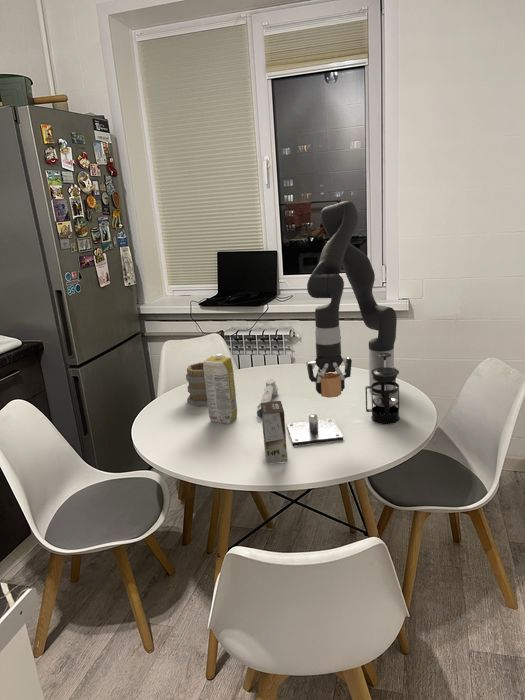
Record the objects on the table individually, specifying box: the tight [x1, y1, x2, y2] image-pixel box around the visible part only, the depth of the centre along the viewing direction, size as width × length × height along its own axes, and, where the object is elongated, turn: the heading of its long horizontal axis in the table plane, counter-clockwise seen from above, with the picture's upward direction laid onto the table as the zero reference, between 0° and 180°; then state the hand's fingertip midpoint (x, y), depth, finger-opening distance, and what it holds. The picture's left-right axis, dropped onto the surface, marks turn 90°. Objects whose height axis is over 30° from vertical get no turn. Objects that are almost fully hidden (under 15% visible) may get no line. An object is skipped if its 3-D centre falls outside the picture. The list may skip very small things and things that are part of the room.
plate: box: [286, 413, 344, 447], centre depth 168 cm, size 16×14×6 cm
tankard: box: [185, 355, 226, 407], centre depth 205 cm, size 20×13×15 cm, turn 129°
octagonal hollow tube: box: [320, 371, 342, 399], centre depth 161 cm, size 6×6×7 cm
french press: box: [364, 353, 401, 425], centre depth 173 cm, size 12×9×23 cm
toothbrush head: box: [256, 378, 279, 419], centre depth 195 cm, size 5×7×25 cm
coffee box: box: [261, 400, 288, 465], centre depth 155 cm, size 9×6×16 cm
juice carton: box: [202, 353, 238, 425], centre depth 182 cm, size 9×8×24 cm
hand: (330, 391), depth 161 cm, fingers closed on octagonal hollow tube, 6 cm apart
